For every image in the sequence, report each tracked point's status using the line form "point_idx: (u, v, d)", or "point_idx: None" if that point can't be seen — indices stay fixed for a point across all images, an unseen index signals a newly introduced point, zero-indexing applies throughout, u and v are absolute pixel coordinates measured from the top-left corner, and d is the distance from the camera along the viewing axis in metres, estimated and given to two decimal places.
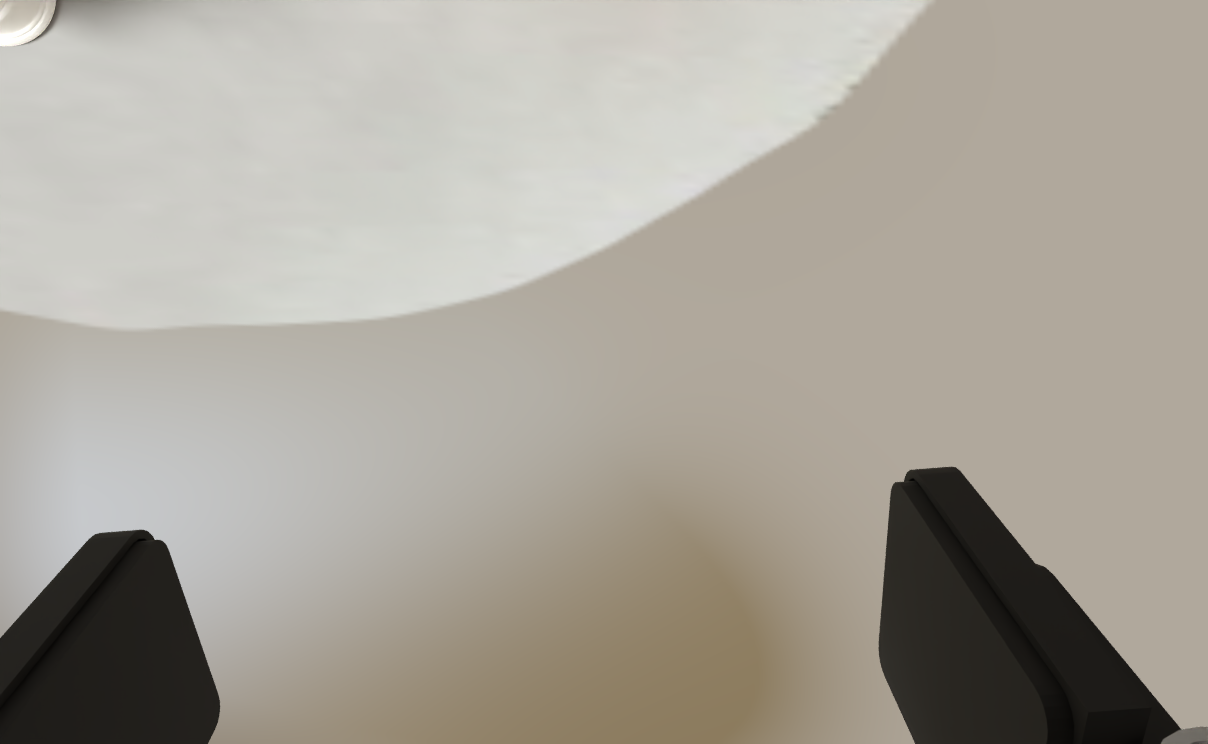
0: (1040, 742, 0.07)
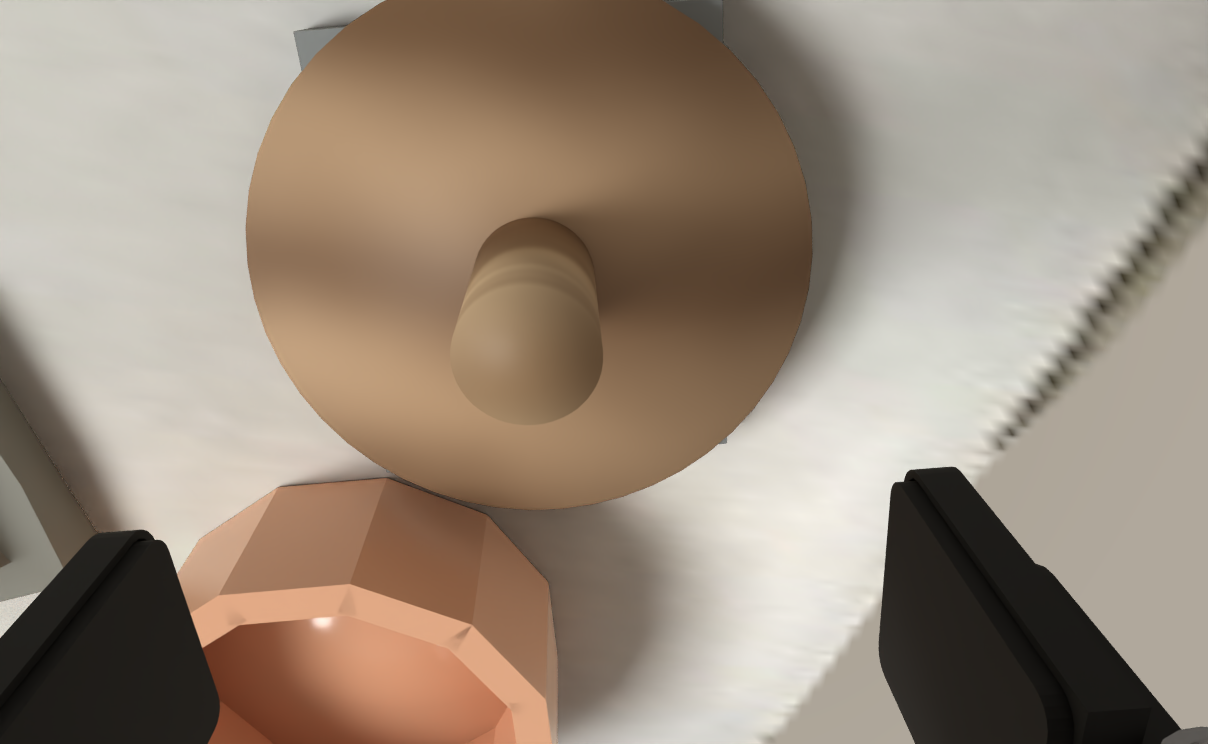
0: (1040, 742, 0.07)
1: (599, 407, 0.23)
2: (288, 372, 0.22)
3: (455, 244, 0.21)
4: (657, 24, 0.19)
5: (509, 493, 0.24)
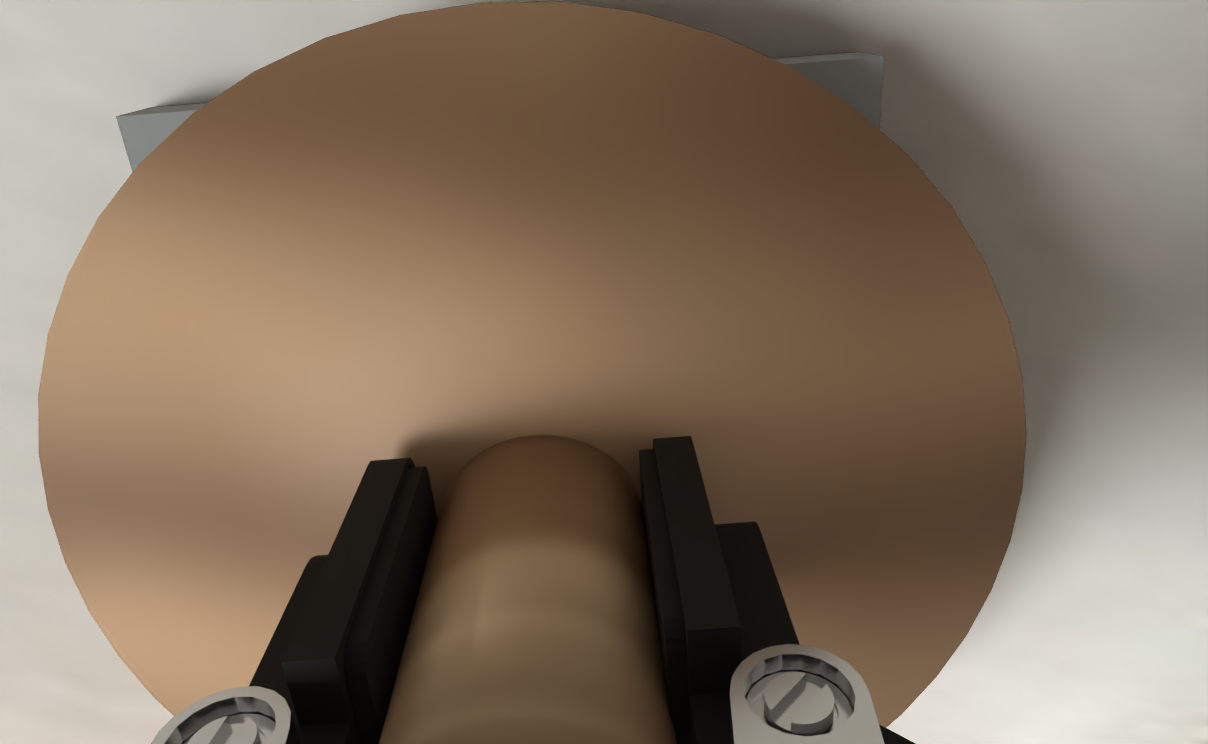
0: (665, 660, 0.08)
1: None
2: (133, 669, 0.13)
3: None
4: (775, 109, 0.10)
5: None
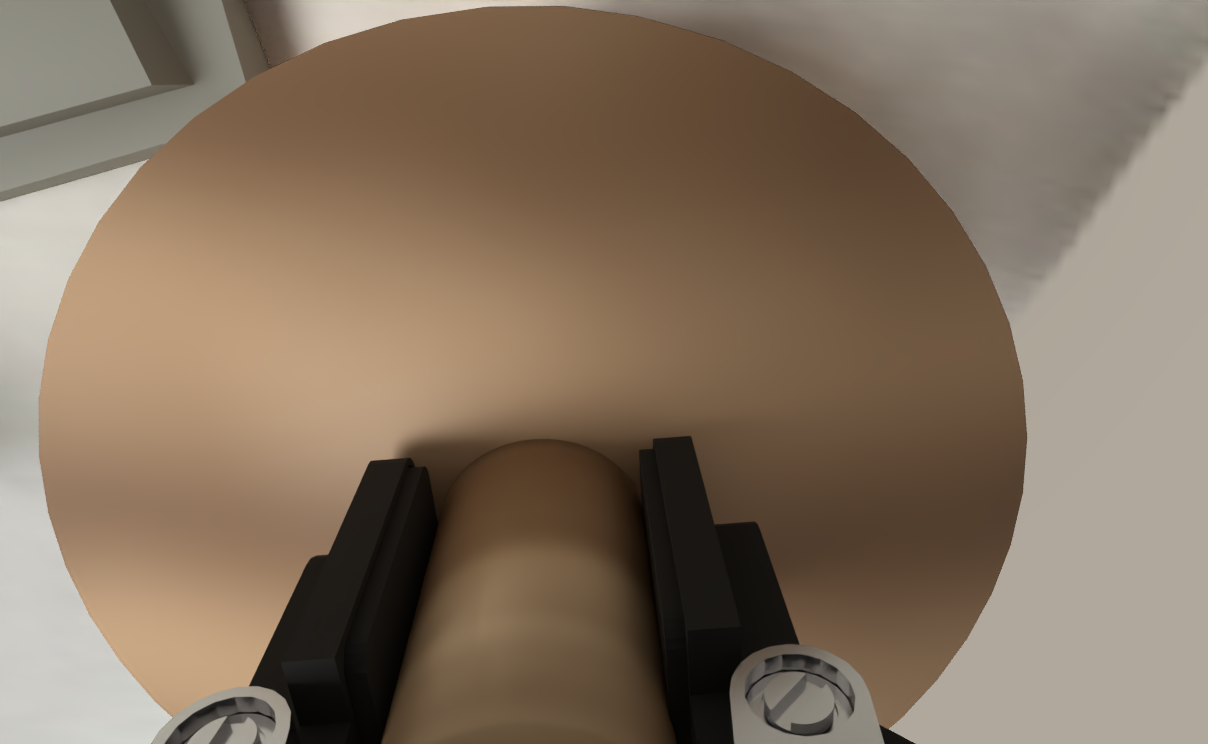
0: (665, 659, 0.08)
1: None
2: (133, 672, 0.13)
3: None
4: (776, 114, 0.10)
5: None
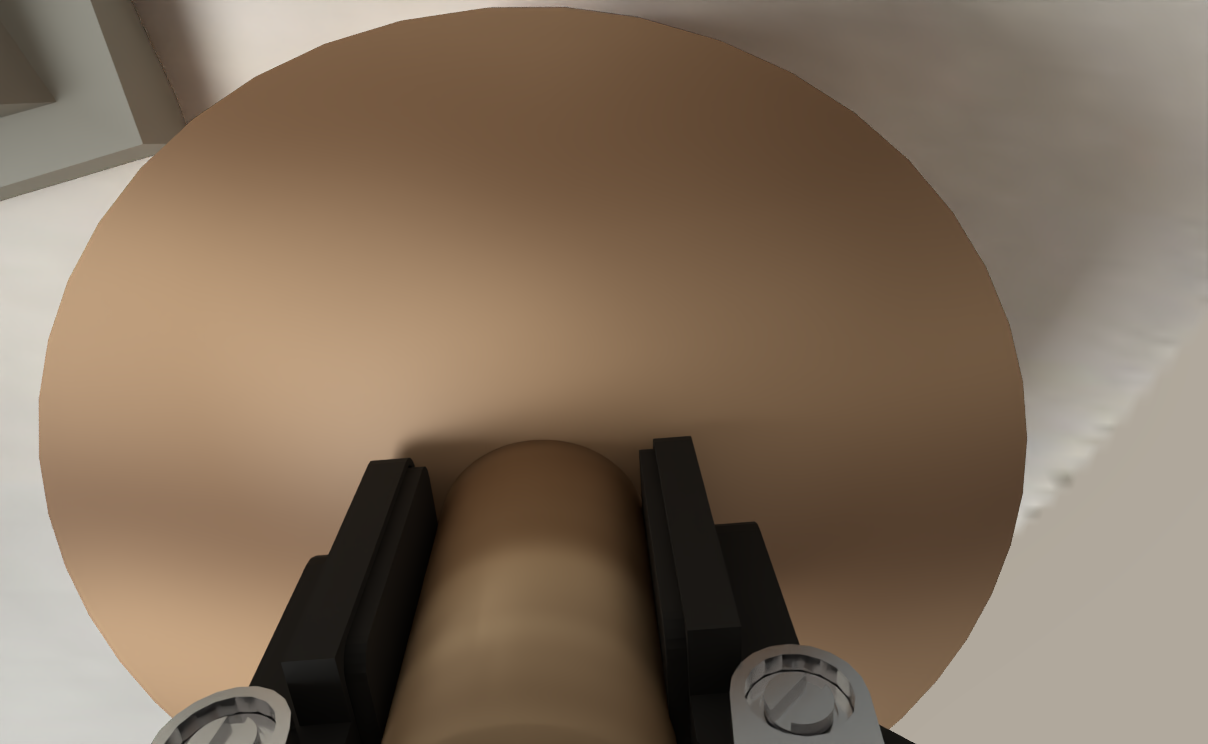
0: (665, 660, 0.08)
1: None
2: (133, 673, 0.13)
3: None
4: (775, 114, 0.10)
5: None
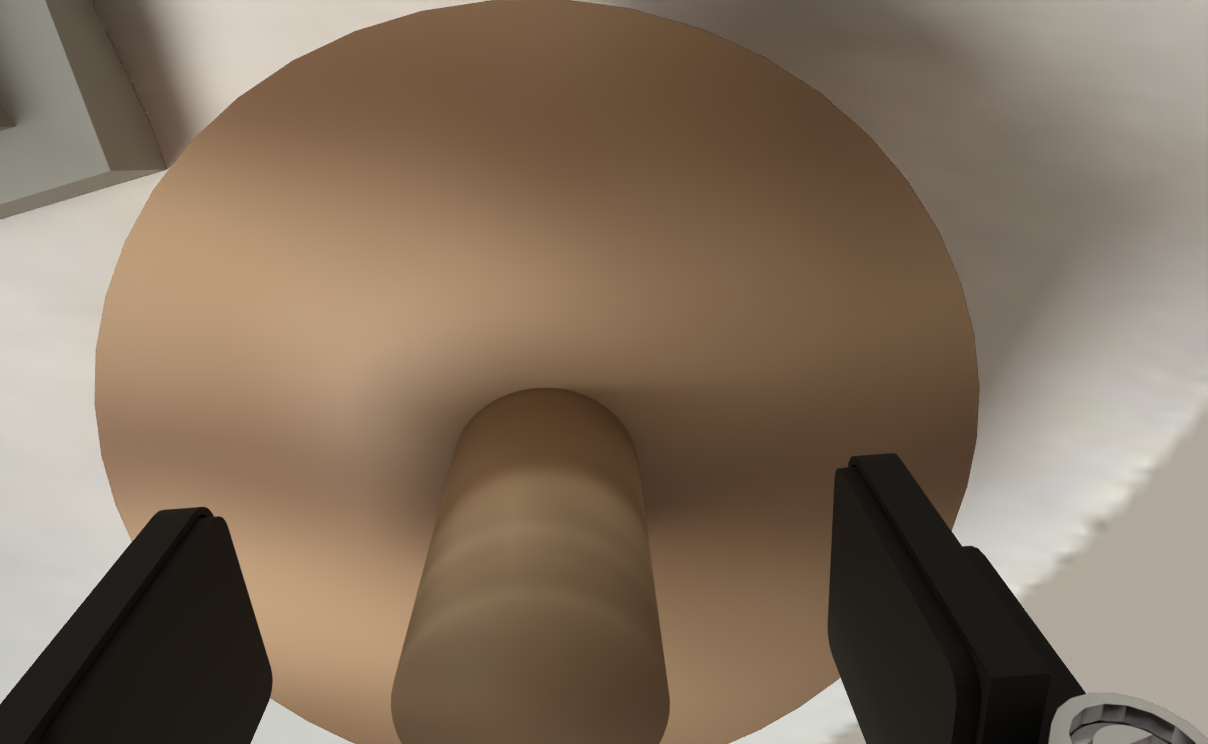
0: (951, 708, 0.07)
1: None
2: None
3: (424, 426, 0.13)
4: (750, 94, 0.11)
5: None
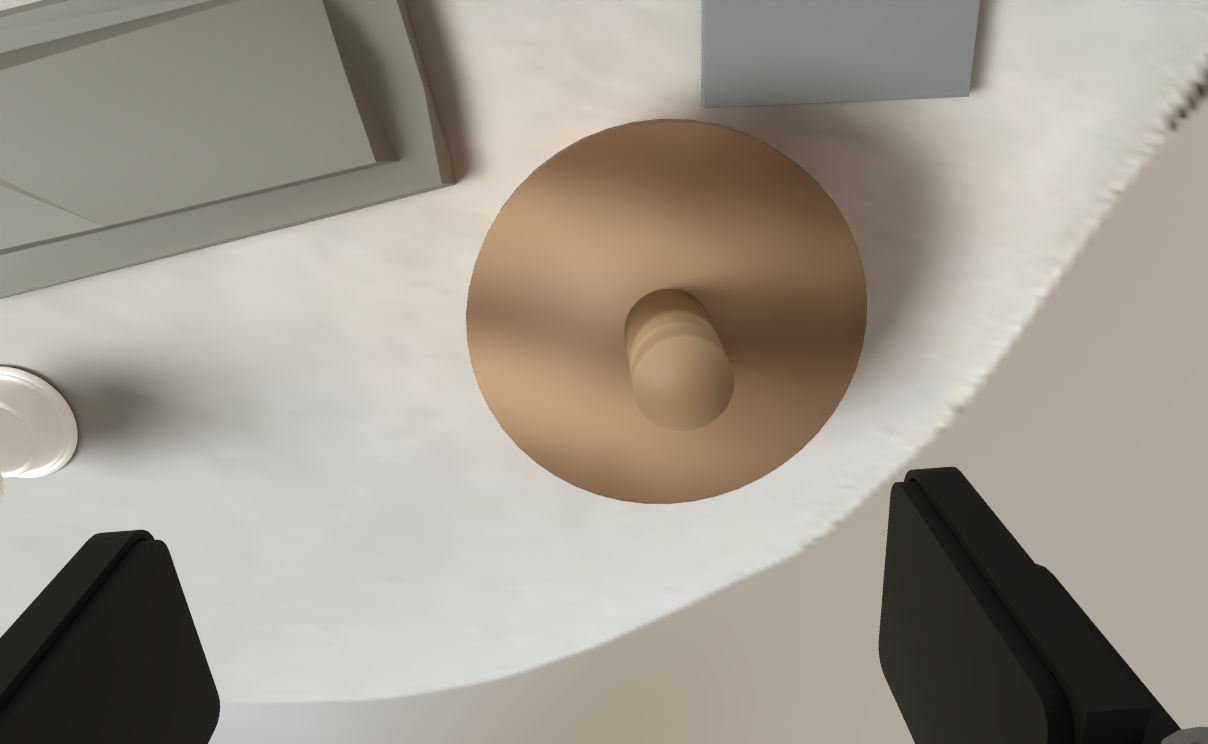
0: (1040, 742, 0.07)
1: (705, 427, 0.31)
2: (483, 393, 0.30)
3: (614, 305, 0.29)
4: (767, 162, 0.27)
5: (632, 490, 0.32)
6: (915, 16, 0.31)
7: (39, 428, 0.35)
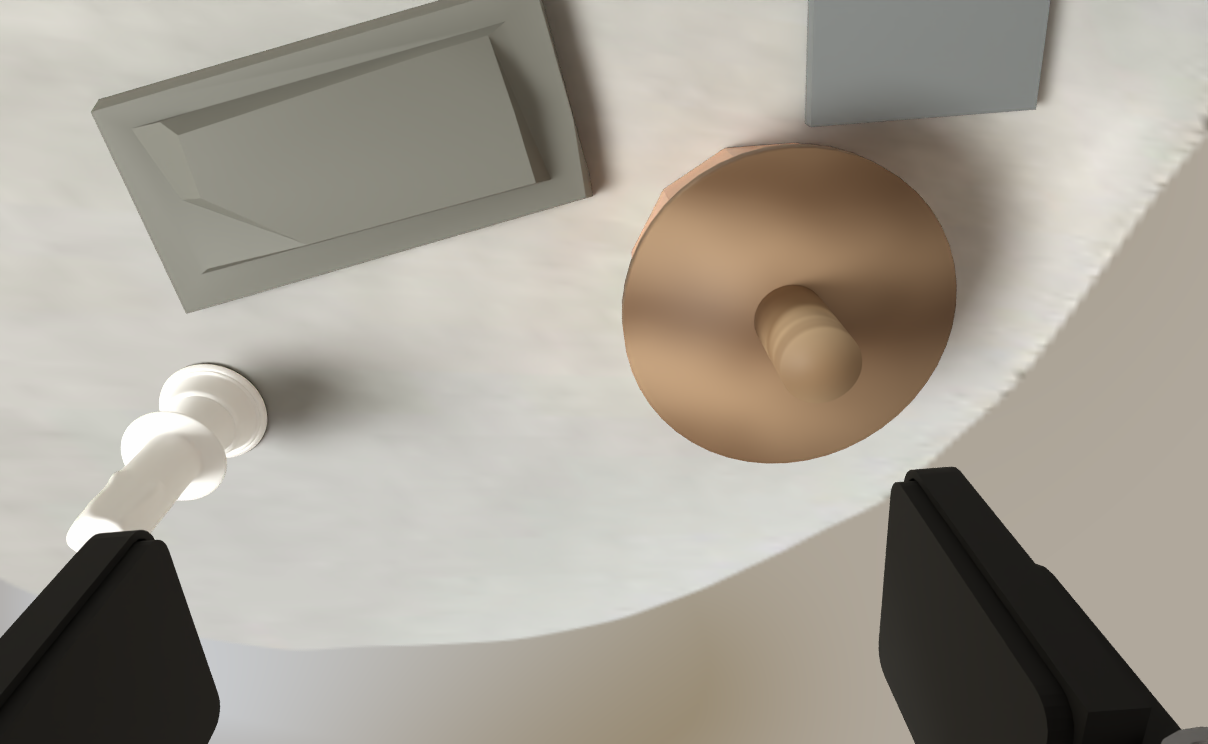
0: (1040, 742, 0.07)
1: None
2: (635, 375, 0.36)
3: (746, 300, 0.35)
4: (876, 179, 0.33)
5: (756, 452, 0.38)
6: (991, 43, 0.36)
7: (241, 415, 0.42)
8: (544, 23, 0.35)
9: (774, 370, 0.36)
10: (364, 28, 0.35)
